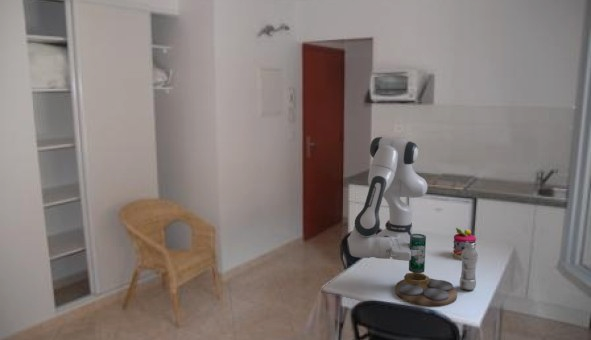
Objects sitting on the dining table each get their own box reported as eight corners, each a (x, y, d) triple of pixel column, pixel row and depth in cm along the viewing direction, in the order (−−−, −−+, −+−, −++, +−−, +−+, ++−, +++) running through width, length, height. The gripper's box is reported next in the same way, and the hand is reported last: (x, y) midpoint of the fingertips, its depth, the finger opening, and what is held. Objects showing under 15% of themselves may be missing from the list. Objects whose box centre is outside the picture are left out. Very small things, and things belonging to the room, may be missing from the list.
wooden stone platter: (388, 299, 187) (388, 288, 186) (403, 278, 208) (403, 268, 207) (451, 311, 176) (452, 299, 175) (460, 288, 197) (461, 277, 196)
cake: (464, 252, 241) (466, 224, 238) (479, 259, 231) (481, 229, 229) (448, 255, 237) (449, 226, 235) (462, 262, 227) (464, 232, 225)
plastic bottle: (455, 288, 197) (458, 242, 194) (465, 284, 201) (467, 239, 198) (469, 293, 192) (472, 246, 189) (479, 289, 196) (481, 242, 193)
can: (412, 273, 194) (414, 238, 191) (406, 268, 200) (408, 234, 197) (426, 272, 195) (428, 237, 193) (420, 267, 201) (421, 233, 199)
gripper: (387, 248, 187) (423, 249, 185) (384, 233, 207) (416, 234, 205) (387, 263, 188) (423, 265, 186) (384, 247, 208) (416, 248, 206)
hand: (419, 249), depth 196 cm, fingers closed on can, 6 cm apart
